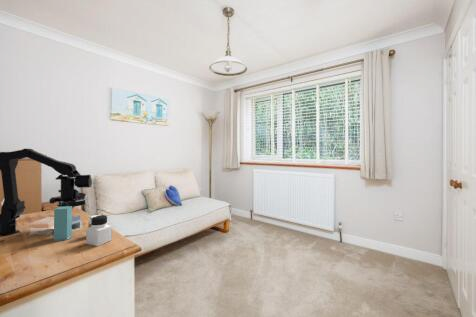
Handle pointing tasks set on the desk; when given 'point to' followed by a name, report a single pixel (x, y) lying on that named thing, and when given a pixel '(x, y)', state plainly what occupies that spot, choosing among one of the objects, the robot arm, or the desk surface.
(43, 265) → the desk surface
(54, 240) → the coaster
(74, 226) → the white channel beam
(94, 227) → the medicine bottle
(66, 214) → the teal box
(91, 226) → the supplement bottle
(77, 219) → the cover
